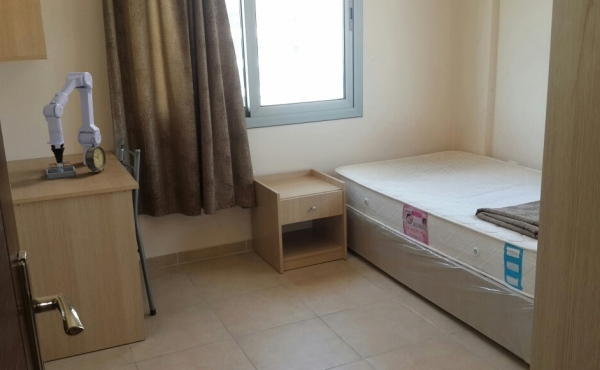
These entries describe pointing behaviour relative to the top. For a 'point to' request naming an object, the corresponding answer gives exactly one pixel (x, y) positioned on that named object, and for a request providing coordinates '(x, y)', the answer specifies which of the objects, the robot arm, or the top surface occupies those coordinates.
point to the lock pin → (59, 167)
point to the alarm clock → (95, 158)
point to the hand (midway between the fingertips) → (59, 161)
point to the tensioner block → (54, 165)
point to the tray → (55, 175)
